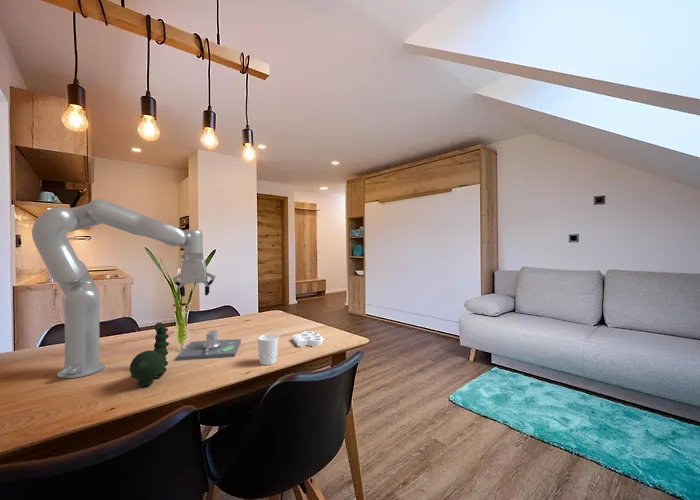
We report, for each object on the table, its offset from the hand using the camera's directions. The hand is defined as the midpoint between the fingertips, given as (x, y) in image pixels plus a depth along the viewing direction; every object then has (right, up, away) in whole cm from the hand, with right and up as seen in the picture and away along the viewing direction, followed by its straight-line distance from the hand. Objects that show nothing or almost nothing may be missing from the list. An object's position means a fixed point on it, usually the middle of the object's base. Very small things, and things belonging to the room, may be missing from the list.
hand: (195, 295), depth 135 cm
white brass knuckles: (+49, -25, +13) cm, 57 cm away
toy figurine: (0, -25, -29) cm, 38 cm away
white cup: (+36, -25, -13) cm, 46 cm away
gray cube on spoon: (+8, -23, -3) cm, 25 cm away
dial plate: (+8, -24, 0) cm, 26 cm away
